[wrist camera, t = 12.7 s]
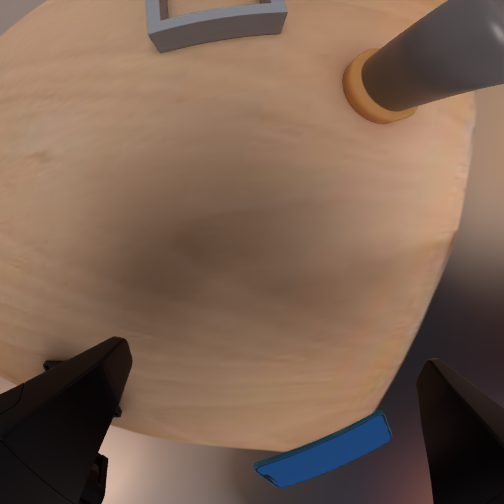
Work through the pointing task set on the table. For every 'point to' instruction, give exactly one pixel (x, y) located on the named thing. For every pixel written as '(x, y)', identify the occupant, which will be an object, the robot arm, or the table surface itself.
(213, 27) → the socket
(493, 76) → the plug
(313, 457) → the smartphone
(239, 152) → the table surface
